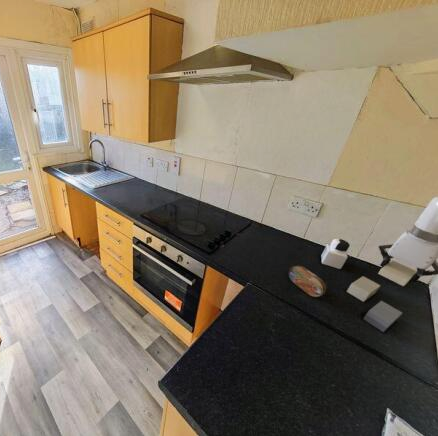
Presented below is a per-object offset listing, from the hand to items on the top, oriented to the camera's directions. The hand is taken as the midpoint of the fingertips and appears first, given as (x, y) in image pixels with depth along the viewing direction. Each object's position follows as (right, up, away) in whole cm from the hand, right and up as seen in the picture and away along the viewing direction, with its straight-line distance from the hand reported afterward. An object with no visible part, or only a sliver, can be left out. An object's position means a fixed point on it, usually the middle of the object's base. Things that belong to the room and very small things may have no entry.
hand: (396, 274), depth 82 cm
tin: (-22, -10, +17) cm, 30 cm away
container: (+3, -2, +33) cm, 33 cm away
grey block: (-2, -18, +4) cm, 19 cm away
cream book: (0, 0, 0) cm, 0 cm away
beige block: (+2, -12, +16) cm, 19 cm away
